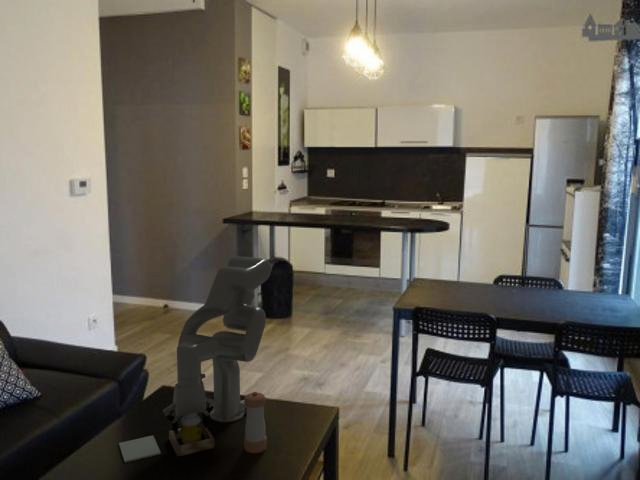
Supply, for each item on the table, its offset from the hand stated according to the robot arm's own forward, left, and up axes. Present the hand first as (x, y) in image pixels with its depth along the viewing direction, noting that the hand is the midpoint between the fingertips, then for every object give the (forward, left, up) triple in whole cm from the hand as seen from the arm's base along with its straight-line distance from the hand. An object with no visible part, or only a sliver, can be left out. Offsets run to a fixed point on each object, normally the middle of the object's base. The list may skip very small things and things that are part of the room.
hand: (190, 429), depth 181 cm
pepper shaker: (-18, +12, -5) cm, 22 cm away
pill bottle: (0, 0, -5) cm, 5 cm away
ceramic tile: (+16, -4, -5) cm, 17 cm away
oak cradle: (0, 0, -5) cm, 5 cm away
